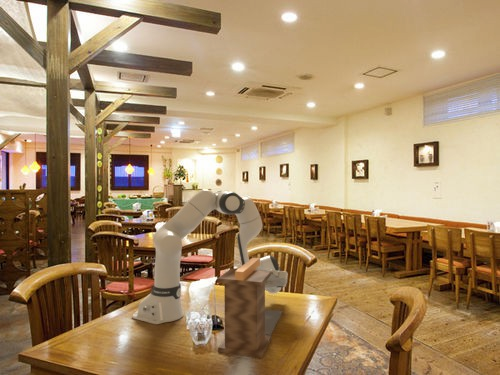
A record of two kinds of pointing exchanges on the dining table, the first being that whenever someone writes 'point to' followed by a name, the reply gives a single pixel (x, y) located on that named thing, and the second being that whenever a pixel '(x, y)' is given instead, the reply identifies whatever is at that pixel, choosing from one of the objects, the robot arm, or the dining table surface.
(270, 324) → the mat
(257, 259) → the bar
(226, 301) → the wooden pillar on base
